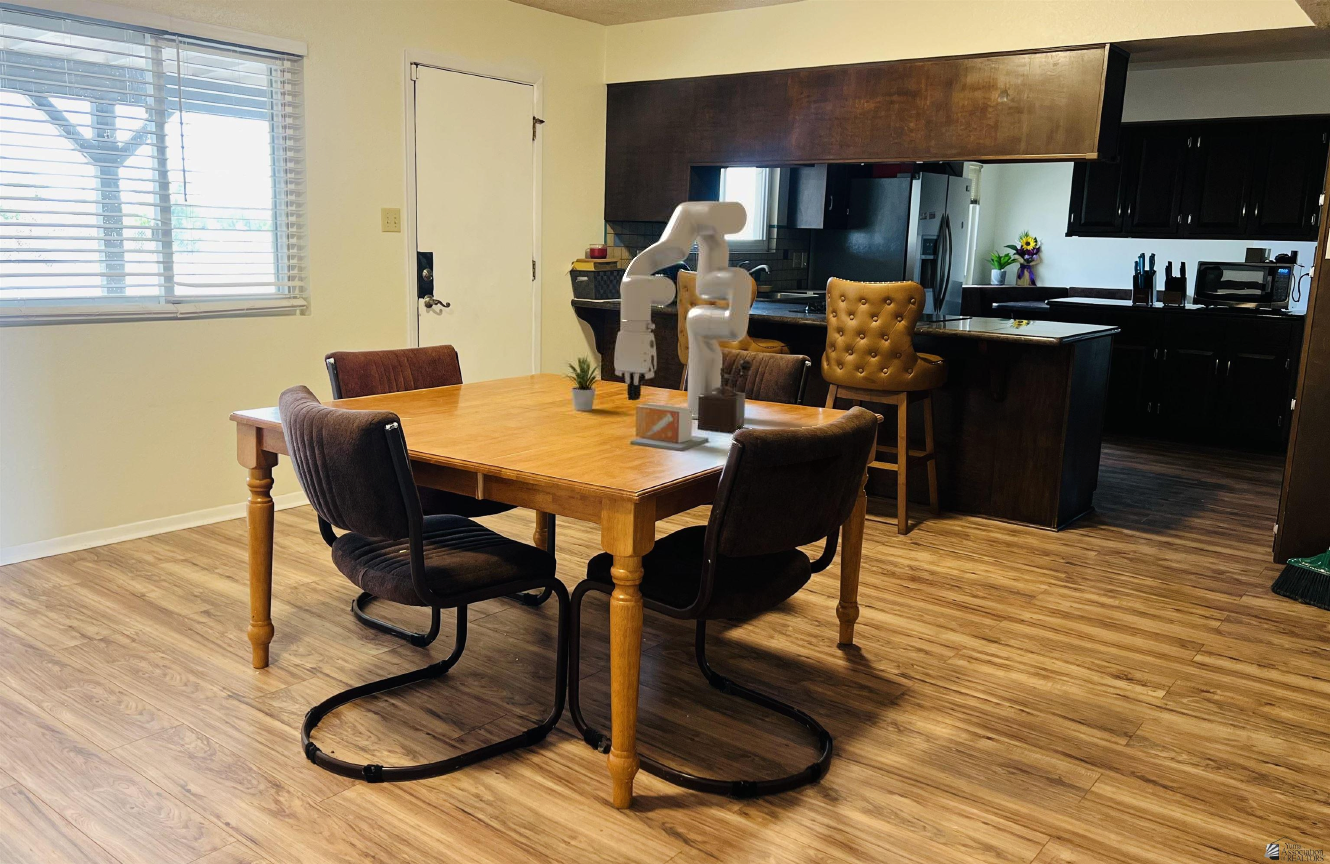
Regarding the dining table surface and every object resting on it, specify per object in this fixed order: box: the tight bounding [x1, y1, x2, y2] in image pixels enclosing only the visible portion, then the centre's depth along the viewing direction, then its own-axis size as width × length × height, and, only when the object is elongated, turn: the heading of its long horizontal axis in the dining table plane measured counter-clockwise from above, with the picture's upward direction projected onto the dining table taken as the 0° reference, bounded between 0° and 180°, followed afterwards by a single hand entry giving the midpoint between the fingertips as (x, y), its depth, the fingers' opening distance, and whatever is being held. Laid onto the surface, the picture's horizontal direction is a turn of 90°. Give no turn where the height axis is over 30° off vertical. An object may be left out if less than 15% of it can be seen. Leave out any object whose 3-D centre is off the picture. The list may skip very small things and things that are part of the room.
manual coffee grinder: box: [697, 359, 754, 434], centre depth 276 cm, size 16×11×18 cm
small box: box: [635, 402, 693, 443], centre depth 255 cm, size 8×6×13 cm
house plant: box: [561, 354, 603, 412], centre depth 298 cm, size 14×14×16 cm
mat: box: [629, 435, 709, 452], centre depth 255 cm, size 15×14×1 cm
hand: (633, 399), depth 259 cm, fingers closed
